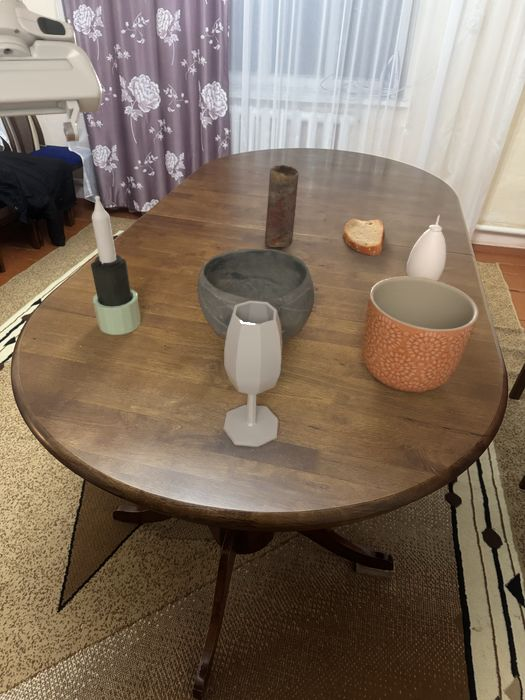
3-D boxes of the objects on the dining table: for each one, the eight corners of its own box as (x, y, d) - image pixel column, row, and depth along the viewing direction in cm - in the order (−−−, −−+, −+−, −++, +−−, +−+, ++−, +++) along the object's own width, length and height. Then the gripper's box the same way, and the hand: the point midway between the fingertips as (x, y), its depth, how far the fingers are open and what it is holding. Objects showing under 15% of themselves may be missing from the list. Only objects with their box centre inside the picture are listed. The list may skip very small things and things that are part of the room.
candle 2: (291, 240, 129) (297, 165, 117) (293, 251, 123) (300, 174, 111) (264, 239, 129) (267, 164, 117) (265, 250, 123) (268, 173, 111)
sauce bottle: (443, 292, 108) (466, 217, 98) (419, 300, 105) (440, 223, 94) (418, 278, 114) (437, 205, 103) (395, 285, 110) (412, 211, 100)
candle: (137, 317, 94) (119, 194, 79) (121, 330, 90) (99, 203, 75) (116, 311, 96) (94, 189, 81) (100, 323, 92) (74, 197, 77)
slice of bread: (370, 258, 122) (373, 245, 119) (322, 235, 133) (323, 222, 130) (412, 242, 131) (415, 229, 129) (363, 222, 142) (365, 210, 140)
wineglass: (218, 411, 74) (215, 298, 62) (271, 404, 76) (278, 292, 64) (228, 453, 68) (227, 335, 55) (286, 443, 70) (297, 327, 57)
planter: (373, 335, 93) (388, 267, 84) (460, 364, 87) (487, 293, 78) (340, 382, 81) (354, 308, 72) (438, 420, 75) (467, 344, 66)
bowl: (180, 329, 92) (174, 260, 83) (264, 299, 103) (267, 235, 94) (241, 387, 79) (242, 312, 70) (330, 345, 90) (341, 276, 81)
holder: (98, 337, 89) (93, 310, 86) (98, 314, 95) (92, 289, 92) (142, 331, 91) (138, 305, 88) (139, 310, 97) (135, 284, 94)
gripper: (-102, 21, 53) (-68, 133, 52) (84, 24, 61) (116, 120, 60) (-85, 62, 58) (-54, 164, 58) (83, 60, 67) (112, 149, 66)
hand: (34, 141), depth 59 cm, fingers open, 8 cm apart
